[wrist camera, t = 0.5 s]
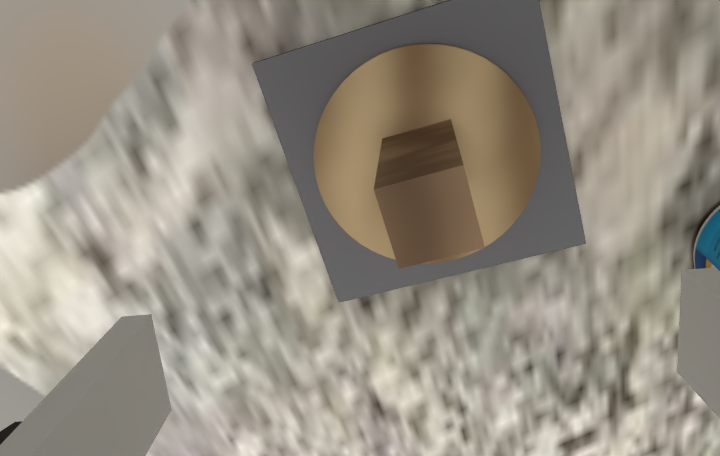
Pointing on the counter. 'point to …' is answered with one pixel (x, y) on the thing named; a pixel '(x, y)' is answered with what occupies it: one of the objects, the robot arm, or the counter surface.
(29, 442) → the robot arm
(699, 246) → the beverage bottle
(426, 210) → the lid
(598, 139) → the counter surface
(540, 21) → the mat
